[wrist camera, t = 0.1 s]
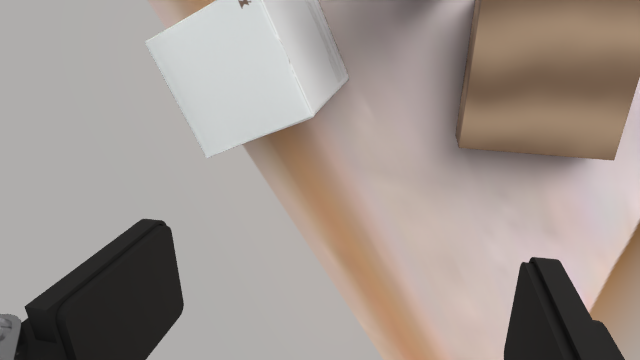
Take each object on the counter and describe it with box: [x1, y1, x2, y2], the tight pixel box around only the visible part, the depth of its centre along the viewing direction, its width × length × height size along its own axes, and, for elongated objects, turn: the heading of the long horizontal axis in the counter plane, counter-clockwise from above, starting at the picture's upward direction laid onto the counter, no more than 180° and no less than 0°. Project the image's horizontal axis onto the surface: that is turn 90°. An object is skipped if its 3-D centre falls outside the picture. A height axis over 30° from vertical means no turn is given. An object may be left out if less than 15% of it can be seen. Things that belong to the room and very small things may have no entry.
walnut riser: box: [456, 0, 640, 160], centre depth 34 cm, size 12×12×4 cm
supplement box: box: [145, 0, 349, 158], centre depth 33 cm, size 9×9×15 cm
